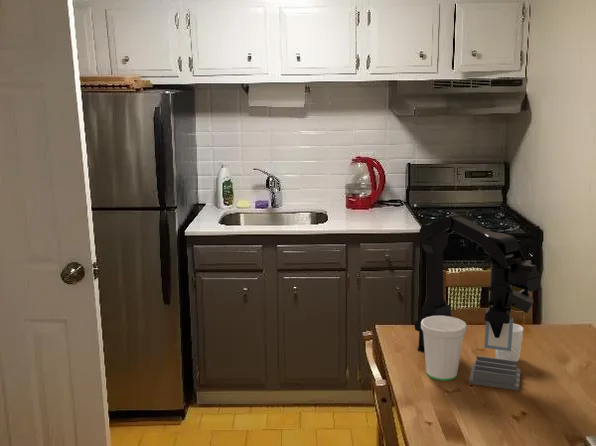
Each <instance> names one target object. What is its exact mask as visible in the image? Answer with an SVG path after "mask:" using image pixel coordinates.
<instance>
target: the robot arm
mask: <svg viewBox="0 0 596 446" xmlns="http://www.w3.org/2000/svg"><path fill="white" fill-rule="evenodd" d="M452 233H456V234H458V235H460V236H462V237H464V238H465V239H468V240H470V241H472V242H473V243H476V244H477V245H479V246H480V247H482V249H483V252H484V253H486V254H487V255H488V256H489V257H488V258H486V259H485V260H484V261H483V263H485V264H488V265H490V275H489V277H490V278H489V287H488V291H489V292H488V300H487V301H488V302H487V305H488V308H486V310H485V312H484V313H485V314H484V321H485V322H486V321H487V322H489V323H490V326H491V328H492V331H493V333H494V336H495V338H499V337H500V333H501V330H502V327H503V323H504V324H509V322H510V318H511V313H512V307H514V308H515V309H518V310H520V311H522V312H523V313H525V314H529V312H530V310H531V309H532V307H533V304H534V299H533V296H530V292H531V293H533V292H535V291H537V290H538V289H539V287H540V285H541V281H542V277H541V273H540V271H539V270H537V265H535V264H529V263H526V262H527V259H526V257H525V255H524V254H523V252H522V249H521V247H520V245H519V242H518V239H517V238H516V237H515V236H513V235H511V234H508V233H502V232H496V231H495V232H494V231H492V230H489V229H487V228H485V227H483V226H481V225H479V224H478V223H477V224H476V223H475V222H473V221H470V220H469V219H467V218H464V217H462V215H461V214H458V213H456V214H449V215H445V216H444V217H442V218H441V219H438V220H436V221H434V222H432V223H426V224H423V225H422V226H421V227H420V228H419V233H418V234H419V239H420V246H421V247H422V248H423V250H424V252H425V258H426V260H425V263H426V264H425V265H426V266H425V268H426V269H425V270H426V271H425V272H426V300H425V302H424V304H423V306H422V308H421V316H420V318H419V319H417V320H416V321H415V322H414V323H413V327H414V330H415V331H417V332H418V347H417V351H421V352H425V349H424V336H423V331H422V329H421V321H422V320H423V319H424V318H426V317H430V316H450V317H453V316H452V313H451V310H452V305H451V304H448V303H447V302H446V300H445V298H444V251H445V249H446V247H447V245H448V244H449V243H448V242H449V235H450V234H452ZM514 288H518V289H521V290H520V291H519V290H514Z"/></svg>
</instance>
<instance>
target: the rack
mask: <svg viewBox="0 0 596 446" xmlns="http://www.w3.org/2000/svg"><path fill="white" fill-rule="evenodd" d="M520 378H521V369H520V368H518V362H517V361H512V360H505V359H498V358H496V357H490V356H488V357H487V356H480V355H476V359H475V362H473V363H472V366H471V370H470V374H469V378H468V384H471V385H477V386H478V385H479V386H484V387H492V388H499V389H506V390H513V391H517V392H518V391H520V381H521V379H520Z"/></svg>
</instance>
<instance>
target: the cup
mask: <svg viewBox="0 0 596 446" xmlns="http://www.w3.org/2000/svg"><path fill="white" fill-rule="evenodd" d="M467 324H468V323H466V322H465V321H464V320H462V319H460V318H458V317H454V316H452V317H450V316H430V317H426V318H424V319H423V320H422V321H421V329H422V331H423V336H424V349H425V351H424V361H425V371H426V372H425V373H426V376H428V377H429V378H430V379H432V380H436V381H442V382H443V381H444V382H445V381H446V382H447V381H452V380H455V379H456V378H457V375H458V370H459V365H460V360H461V359H460V358H461V353H462V346H463V341H464V336H465V334H466V332H467V326H468V325H467Z"/></svg>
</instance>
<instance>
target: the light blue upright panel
mask: <svg viewBox="0 0 596 446" xmlns="http://www.w3.org/2000/svg"><path fill="white" fill-rule="evenodd" d="M513 323H514V318H513V317H510V322H509V324H504V323H503V327H502V330H501V333H500V337H499V338H495V336H494V333H493V331H492V328H491V326H490V323H489V322H487V321H485V333H484V346H483V347H484V349H491V350H495V349H497V350H505V351H511V344H512V331H513Z"/></svg>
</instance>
